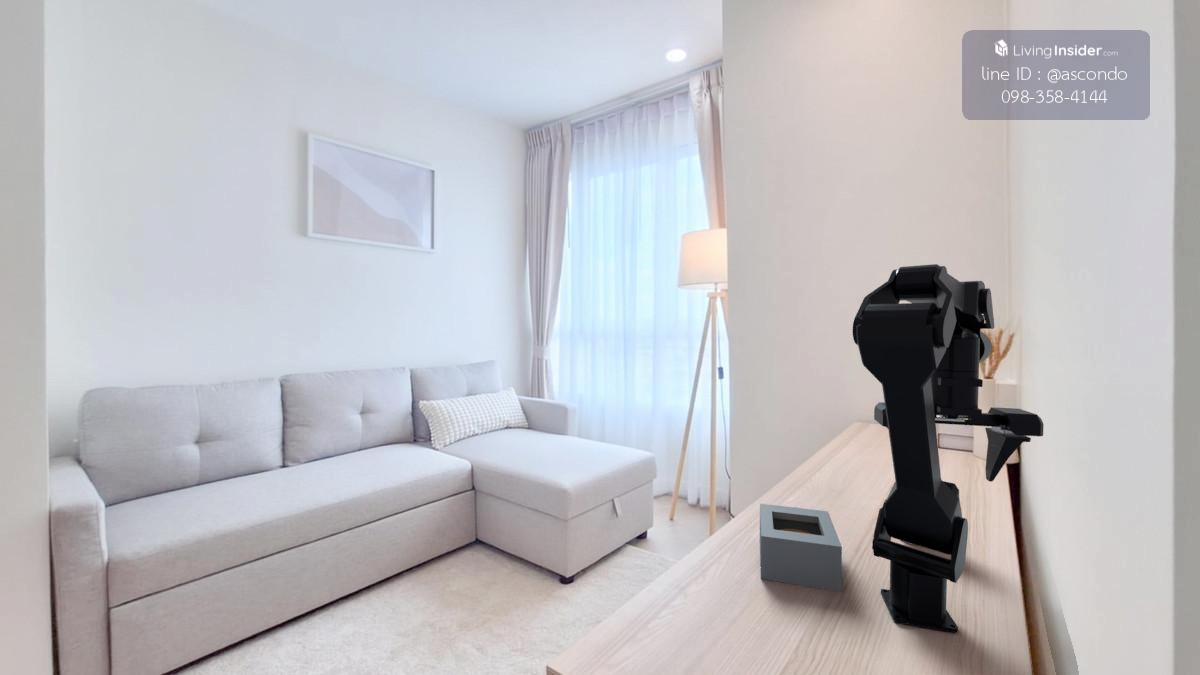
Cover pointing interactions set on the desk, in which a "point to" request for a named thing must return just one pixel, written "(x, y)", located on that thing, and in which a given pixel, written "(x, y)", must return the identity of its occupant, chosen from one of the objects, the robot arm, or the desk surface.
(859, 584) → the desk surface
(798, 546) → the box
